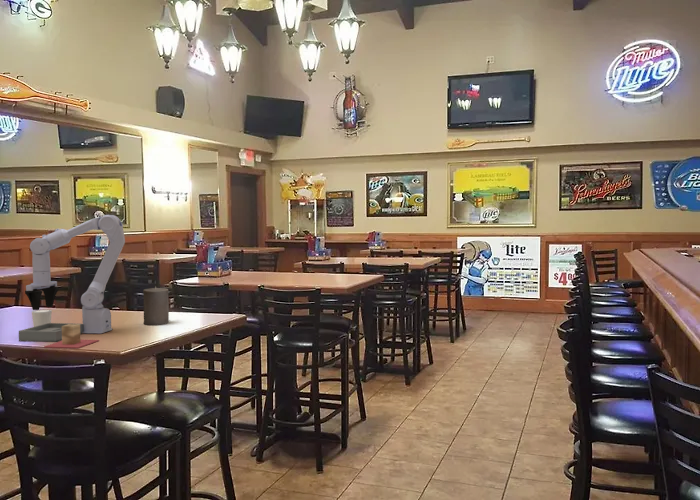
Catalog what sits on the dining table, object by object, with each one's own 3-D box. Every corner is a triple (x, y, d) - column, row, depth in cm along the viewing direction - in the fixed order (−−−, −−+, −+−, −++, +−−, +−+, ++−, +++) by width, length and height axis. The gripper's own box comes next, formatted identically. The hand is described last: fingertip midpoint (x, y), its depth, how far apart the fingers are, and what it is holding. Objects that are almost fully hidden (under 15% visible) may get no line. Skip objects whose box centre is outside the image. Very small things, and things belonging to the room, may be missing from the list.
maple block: (80, 342, 201) (80, 324, 201) (73, 344, 198) (72, 326, 197) (69, 341, 202) (69, 324, 202) (62, 344, 198) (61, 326, 198)
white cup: (30, 331, 225) (29, 312, 224) (34, 328, 231) (34, 310, 231) (50, 330, 226) (49, 311, 226) (54, 327, 233) (53, 309, 233)
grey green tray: (83, 333, 220) (83, 323, 220) (56, 341, 204) (55, 331, 204) (48, 332, 222) (48, 323, 222) (18, 340, 206) (18, 330, 206)
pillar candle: (138, 324, 238) (137, 286, 237) (156, 320, 247) (156, 284, 246) (156, 326, 233) (155, 288, 233) (174, 322, 242) (173, 285, 241)
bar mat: (99, 341, 205) (99, 339, 205) (78, 348, 193) (78, 347, 193) (66, 340, 207) (66, 339, 207) (44, 347, 195) (44, 346, 195)
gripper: (44, 269, 226) (45, 305, 226) (17, 272, 211) (19, 311, 212) (61, 269, 224) (62, 305, 225) (35, 273, 210) (37, 311, 211)
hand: (42, 308), depth 218 cm, fingers open, 7 cm apart
